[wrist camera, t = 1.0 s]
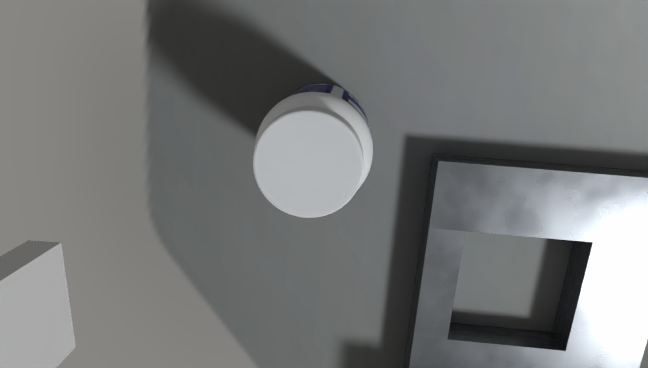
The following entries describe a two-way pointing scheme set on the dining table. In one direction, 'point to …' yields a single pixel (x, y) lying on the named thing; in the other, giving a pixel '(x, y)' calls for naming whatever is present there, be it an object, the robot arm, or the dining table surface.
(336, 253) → the dining table surface
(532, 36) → the dining table surface
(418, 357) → the jig
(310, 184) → the pill bottle
